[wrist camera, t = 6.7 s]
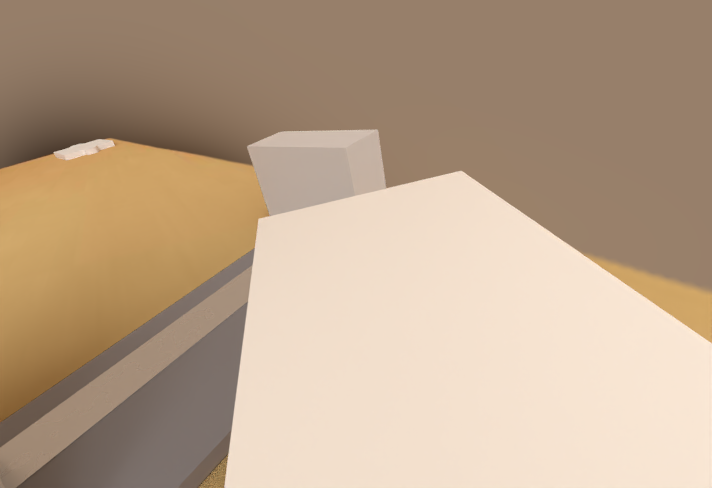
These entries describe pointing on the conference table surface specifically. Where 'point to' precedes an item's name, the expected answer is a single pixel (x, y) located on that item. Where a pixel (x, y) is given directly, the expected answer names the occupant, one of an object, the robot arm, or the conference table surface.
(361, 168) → the block
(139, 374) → the rail board
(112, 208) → the conference table surface
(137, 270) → the conference table surface
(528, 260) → the block
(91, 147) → the mounting plate
